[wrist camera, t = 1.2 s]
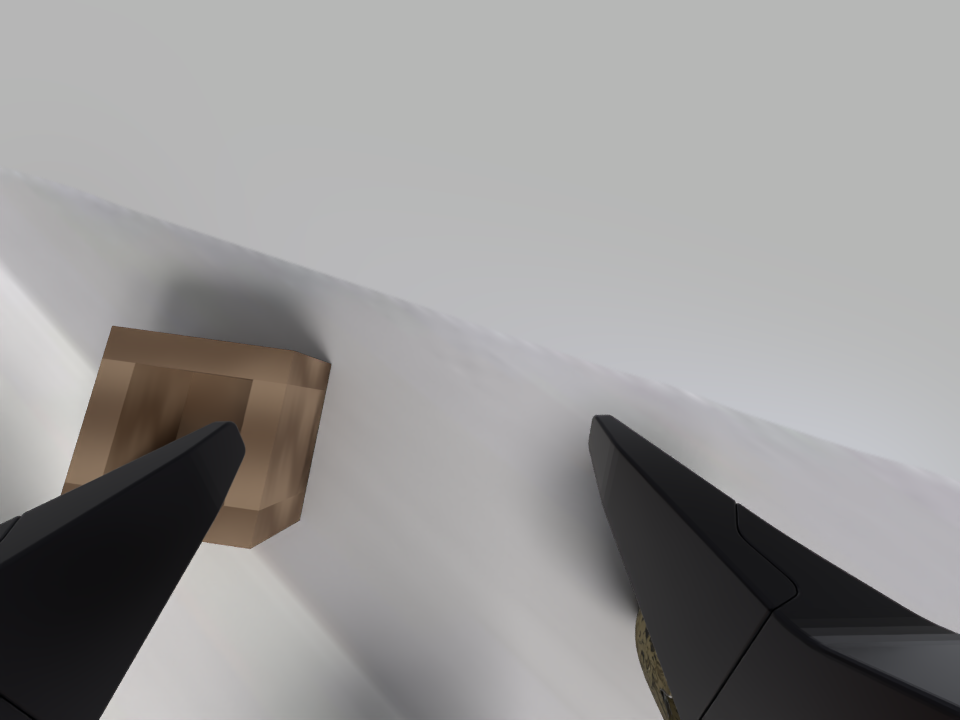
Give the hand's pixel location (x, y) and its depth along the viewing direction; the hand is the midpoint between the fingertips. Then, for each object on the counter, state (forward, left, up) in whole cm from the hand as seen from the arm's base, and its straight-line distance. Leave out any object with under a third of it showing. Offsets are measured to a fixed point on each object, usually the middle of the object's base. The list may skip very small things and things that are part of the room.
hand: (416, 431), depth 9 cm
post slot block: (-2, +14, -15) cm, 20 cm away
